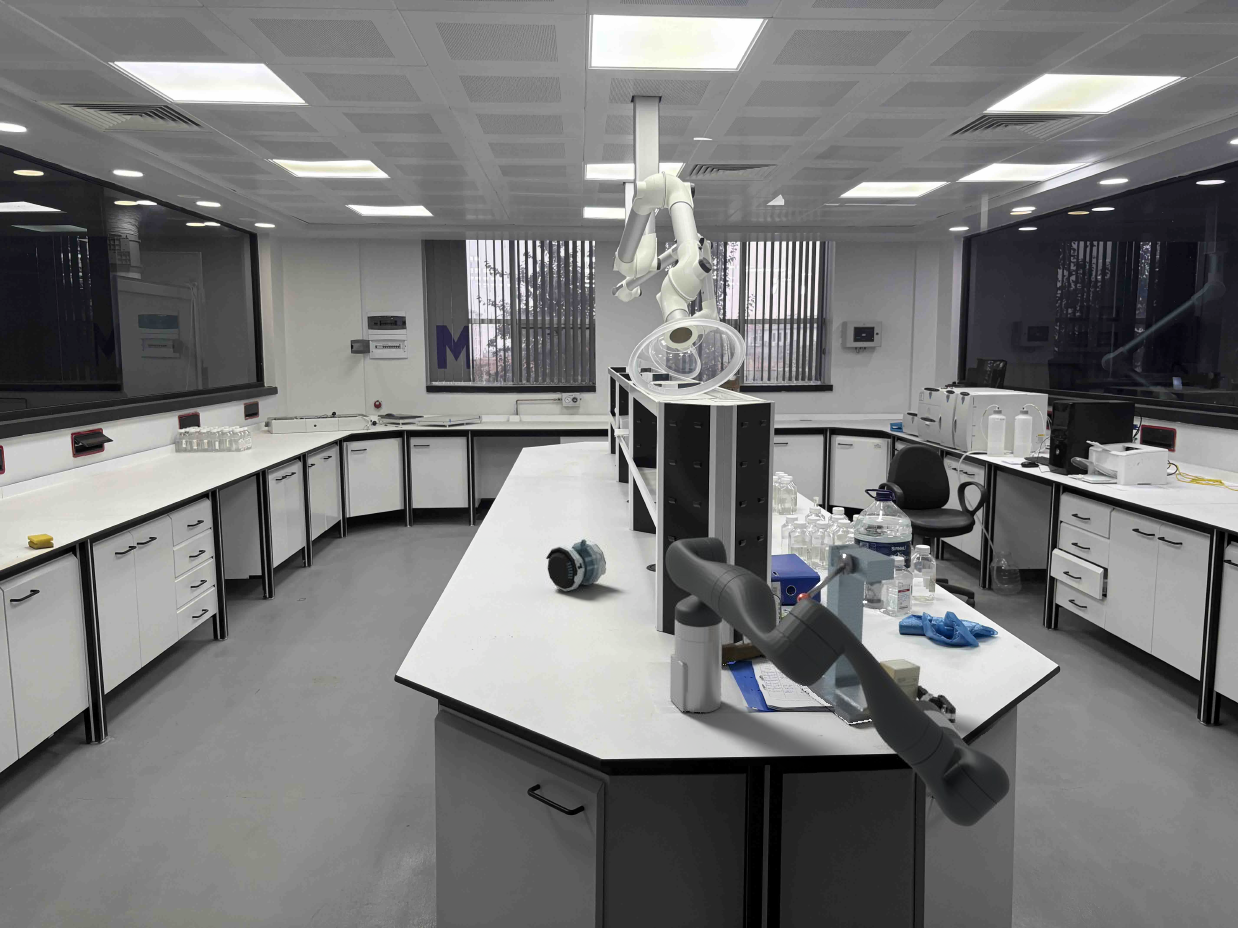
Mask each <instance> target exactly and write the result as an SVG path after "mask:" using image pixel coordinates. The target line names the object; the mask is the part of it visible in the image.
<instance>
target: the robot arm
mask: <svg viewBox="0 0 1238 928" xmlns="http://www.w3.org/2000/svg"><path fill="white" fill-rule="evenodd" d="M727 555H728V554H727V549H726V547H725V545H724V543H723V542H722V540H721V539H719V537H714V536H712V537H711V536H710V537H695V538H694V537H693V538H682V539H678V540H676V541H674V542H671V544H670V545H669V547H668V548H667V550H666V554H665V566H666V567H665V568H666V570H667V573H668V575H669V578H670V579H671V581H672V582H673V583H674V584H675V585H676V587H678V588H680V589H682V590H684V591H686V592H687V593H689V594H691V595H689V596H687V597H685V598H683V599H682V600H680V601H678V602H677V603H676V605H675V608H674V653H672V654H671V655H670V679H669V681H670V683H669V685H670V687H669V688H670V691H669V692H670V694H669V695H670V696H669V699H671V700H670V701H671V702H672V703H673V704H674V706H675V707H676V708H677V707H678V708H679V709H680V710H681V711H682V712H681V711H680V710H679V709H678V708H677V709H678V710H679V711H680V712H681V713H687V712H686V711H690V712H689V713H694V712H700V714H701V712H705V713H710V712H713V711H716V710H718V709H719V708H720V707H721V704H722V702H721V701H722V667H723V666H722V645H723V621H724V622H726V624H728V625H730V627H732V628H733V629H734V630H736V631H737V632H739V634H741V635H742V636H744V637H745V638H746V639H747V640H749V642H752V643H753V644H754V645H755V646H756V647H757V648H758V649H759V650H760V651H761V652H762V653H763V654H764V655H763V656H765V657H766V659H767V660H768V662H771V664H772V665H773V666H775V668H776V669H777V670H778V671H780V673H782V675H784V676H785V677H786V678H787V679H789V680H790V681H792V682H793V683H795V684H797V685H799V686H801V685H802V686H812V685H813V684H815V683H816V682H817V681H818V680H819V679H821V678H822V677H824V674H825V673H826V672H827V671H828V670H829V669H830V667H831V666H832V665H833V664H834V663H835V662H836V661H837V659H838V658H839V657H840V656H841V655H842V654H843V655H844V656H845V657H846V658H847V660H848V661H849V662H850V664H851V665H852V667H853V668H854V670H855V672H856V674H857V676H858V678H859V681H860V684H861V686H862V689H863V693H864V696H865V699H866V703H867V709H868V711H869V713H870V717H871V720H872V722H871V723H872V725H873V726H874V729H875V731H876V732H877V734H878V735H879V736H880V738H881V739H882V741H883V742H884V743H885V744H886V745H887V746H888V747H889V748H890V749H891V750H892V751H893V752H895V753H896V754H897V755H898V756H899V757H900V758H901V759H902V760H903V761H904V762H905V763H907V765H908V766H910V767H911V768H912V769H913V771H914V772H915V773H916V774H917V775H918V776H919V777H920V779H921V780H922V781H923V782H924V784H925V786H926V787H927V789H928V790H929V792H930V794H931V796H932V797H933V799H934V801H935V803H936V804H937V805H938V808H939V809H940V810H941V812H942V813H943V815H944V816H946V818H947V819H948V820H949V821H951V822H952V823H953V824H956V825H958V826H961V827H972V826H974V825H976V824H977V823H978V822H979V821H981V820H982V818H984V816H985V815H987V814H988V813H989V812H990V811H991V810H992V809H993V808H994V807H995V806H997V804H998V803H1000V802H1001V801H1002V800H1003V799H1004V798H1005V797H1006V796H1007V795H1008V793H1009V791H1010V785H1011V783H1010V778H1009V775H1008V773H1007V771H1006V770H1005V769H1004V767H1003V766H1002V765H1001V764H1000V763H999V762H997V761H996V759H993V757H991V756H989V755H988V754H985V753H984V752H982V751H980V750H977V749H975V748H973V747H971V746H969V745H968V744H967V743H966V742H965V741H964V739H962V737H961V736H960V734H959V733H958V731H957V730H956V728H955V726H954V725H953V724H955V723H956V718H957V717H956V715H957V713H956V712H957V708H956V707H955V705H953V704H952V703H951V702H950V700H949V699H948V698H947V697H946V696H945V695H943V694H937V696H935V695H934V694H933V693H932V692H931V693H930V692H929V691H928V690H927V689H926V688H925V687H923V686H922V685H918V692H917V700H911V699H910V698H909V697H908V696H907V695H906V694H905V693H904V691H903V690H902V689H901V688H900V687H899V686H898V685H897V683H896V682H895V681H894V680H893V679H892V677H891V676H890V675H889V674H888V673H887V671H886V670H885V669H884V668H883V667H882V665H881V664H880V661H878V659H876V657H875V656H874V655H873V654H872V653H871V652H870V651H869V649H868V648H867V647H866V645H864V643H863V642H862V643H861V641H860V640H859V639H858V638H857V637H856V636H855V635H854V634H853V632H852V631H851V630H850V629H849V628H848V627H847V626H846V625H845V624H844V623H843V622H842V621H841V620H840V619H839V618H838V617H837V616H836V615H835V614H834V613H833V612H831V611H830V610H829V609H828V608H827V607H826V606H825V605H823V604H822V603H821V602H819V601H817V600H815V599H814V598H803V599H801V600H800V601H799V602H798V601H797V603H795V604H794V606H793V607H792V608H791V609H790V610H789V611H788V613H787V614H786V615H785V616H784V617H783V618H781V620H780V621H779V622H778V624H777V607H776V606H777V604H776V599H775V595H774V593H773V590H772V588H771V586H770V585H769V584H768V583H767V582H766V581H765V580H764V579H762V578H761V577H759V576H758V575H757V574H755V573H753V572H752V571H751V570H748V569H746V568H744V567H741V566H738V565H735V564H730V563H728V556H727ZM683 711H685V712H683Z"/></svg>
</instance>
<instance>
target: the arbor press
mask: <svg viewBox="0 0 1238 928" xmlns="http://www.w3.org/2000/svg"><path fill="white" fill-rule="evenodd" d="M827 557H828V560H827V576H825V577H824V578H823V579H821V580H820V581H819V582H818V583H817V584H815V586H813V588H811V589H810V590H809V591H807V593H805V592H803V593H800V594H798V596H797V598H796V602H797V603H798V602H799V601H800V600H801V599H803V598H811V599H813V597H814V596H815V595H817V594H818V593H819V592H820V591H821V590H823V589H824V588H825V587H826V606H825V607H827V608H828V609H829V610H830V611H831V612H833V613H834V614H835V615H836V616H837V617H838V618H839V619H840V620H841V621H842V622H843V623H844V624H845V625H846V626H847V627H848V628H849V629H850V630H851V631H852V632H853V634H854V635H855V636H856V637H857V638H858V639H859V640H860V641H861V643H862V644H863V625H864V623H863V622H864V608H866V609H869V610H880V609H884V608H885V601H884V600H883V599H882V594H883V593H882V592H883V591H882V590H883V589H882V588H883V581H891V580H892V581H893V580H895V565H896V559H895V558H894V557H892V556H889V555H886V554H883V553H880V552H878V551H875V550H872V549H870V548H868V547H865V546H862V545H859V544H857V543H854V542H853V543H846V544H845V543H843V544H832V545H828V555H827ZM807 687H808V688H809V689H810V690H811V691H812V692H813V693H815V694H816V695H817V696H818V697H820V698H821V699H823V700H824V701H825V702H826V703H828V704H830V705H832V706H833V707H834V709H835V713H836V714H837V715H838V716H840V717H842V718H843V719H844V720H846V721H847V722H848V723H853V722H858V721H864V720H869V719H871V717H870V713H869V711H868V709H867V703H866V699H865V696H864V693H863V689H862V686H861V684H860V681H859V678H858V676H857V674H856V672H855V670H854V668H853V667H852V665H851V664H850V662H849V661H848V660H847V658H846V657H845V656H844V655H843V654H842V655H841V656H840V657H839V658H838V659H837V661H836V662H835V663H834V664H833V665H832V666H831V667H830V669H829V670H828V671H827V672H826V673H825V674H824V675H823V677H822V678H821V679H819V680H818V681H817V682H816V683H815V684H813V685H812V686H807Z"/></svg>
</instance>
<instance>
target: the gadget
mask: <svg viewBox="0 0 1238 928" xmlns="http://www.w3.org/2000/svg"><path fill="white" fill-rule="evenodd" d="M604 554H605V553H604V551H602V549H601V548H600V547H599V545H598V544H597V543H595V542H593V541H591V540H588V539H583V538H582V539H581V541H579V542H576V543H573V545H572V546H571V547H569V546H567V545H561V546H558V547H554V548H552V549H550V551H549V552H548V554H547V556H546V557H545V559H546V560H547V561H548V562H547V572H548V576H549V579H550V580H551V582H553V584H554V586H556V588H558V589H559V590H562V591H563V592H568V591H569V592H570V591H573V590H575V589H578V587H579V585H580V584H582V585H584V586H589V585H591V584H594V583H598V581H599V580H600V578H601V577H602V576H604V575H605V574H606V571H607V567H606V565H607V562H606V558H605V555H604Z"/></svg>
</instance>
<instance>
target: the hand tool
mask: <svg viewBox="0 0 1238 928" xmlns="http://www.w3.org/2000/svg"><path fill="white" fill-rule="evenodd" d="M760 655H762V656H765V655H764V654H763V653H762V652H761V651H760V650H759V649H758V648H757V647H756V646H755V645H754V644H753V643H752V642H751V641H749V642H746V643H741V644H736V643H733V642H729V643H725V644H723V643H722V665H723V664H724V666H726V665H725V664H727V663H729V662H734V661H737V662H739V661H743V660H747V659H752V658H755V657H756V656H757V657H761V656H760ZM738 660H739V661H738Z"/></svg>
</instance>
